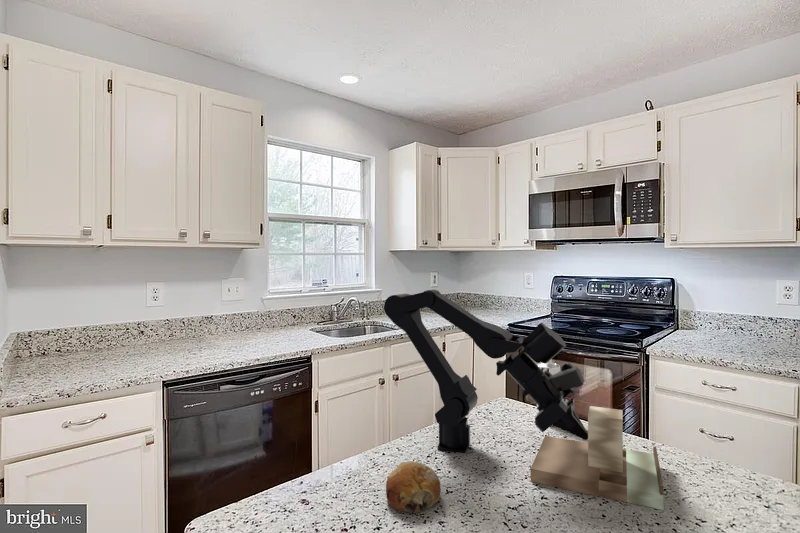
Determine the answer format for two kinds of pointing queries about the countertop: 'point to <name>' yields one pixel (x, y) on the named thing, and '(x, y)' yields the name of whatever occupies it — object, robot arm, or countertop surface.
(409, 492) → the bread roll
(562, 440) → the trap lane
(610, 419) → the birch block
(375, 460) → the countertop surface
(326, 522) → the countertop surface
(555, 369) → the beer glass
